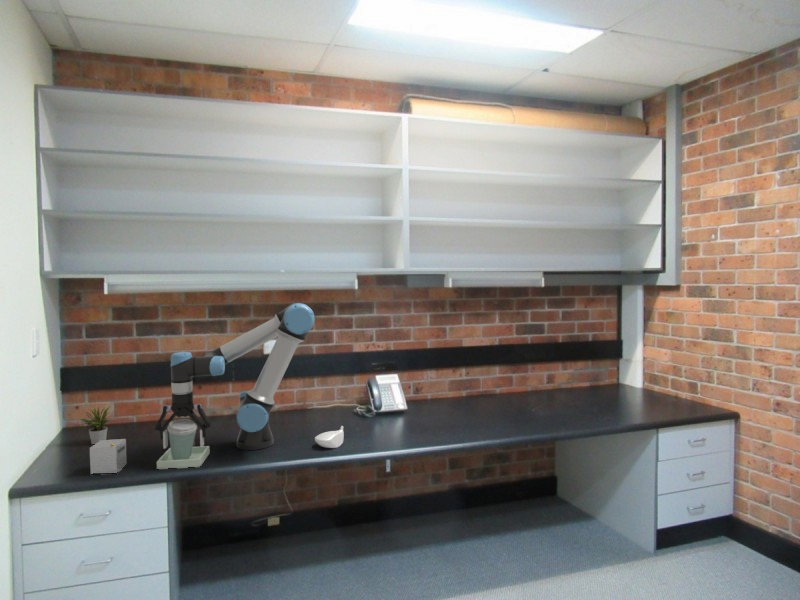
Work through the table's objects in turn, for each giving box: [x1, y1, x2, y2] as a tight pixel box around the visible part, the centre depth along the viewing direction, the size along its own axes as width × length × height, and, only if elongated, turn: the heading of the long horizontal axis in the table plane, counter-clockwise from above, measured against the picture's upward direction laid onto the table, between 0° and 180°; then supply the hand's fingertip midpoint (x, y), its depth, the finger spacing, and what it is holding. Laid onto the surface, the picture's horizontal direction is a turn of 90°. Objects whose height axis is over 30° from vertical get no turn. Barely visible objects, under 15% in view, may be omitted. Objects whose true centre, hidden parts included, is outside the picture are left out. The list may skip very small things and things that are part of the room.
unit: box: [89, 438, 128, 475], centre depth 193 cm, size 10×9×10 cm
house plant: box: [77, 405, 113, 445], centre depth 225 cm, size 14×14×16 cm
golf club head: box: [314, 425, 345, 449], centre depth 218 cm, size 10×11×12 cm
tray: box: [156, 445, 211, 470], centre depth 201 cm, size 15×15×3 cm
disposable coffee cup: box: [166, 418, 198, 460], centre depth 199 cm, size 11×11×15 cm
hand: (184, 446), depth 201 cm, fingers open, 13 cm apart
